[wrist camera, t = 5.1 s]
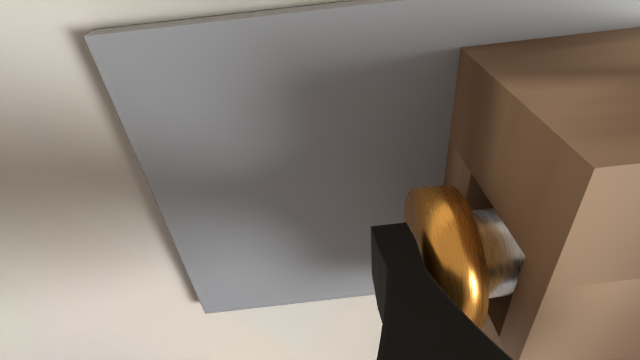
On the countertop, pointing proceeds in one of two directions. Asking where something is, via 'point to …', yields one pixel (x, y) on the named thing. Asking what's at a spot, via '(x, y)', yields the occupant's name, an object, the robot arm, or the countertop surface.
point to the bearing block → (557, 187)
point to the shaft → (463, 248)
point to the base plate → (304, 128)
